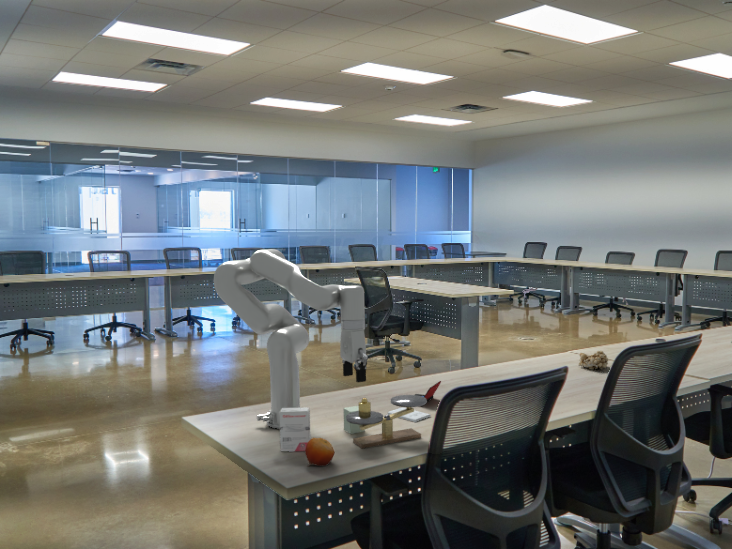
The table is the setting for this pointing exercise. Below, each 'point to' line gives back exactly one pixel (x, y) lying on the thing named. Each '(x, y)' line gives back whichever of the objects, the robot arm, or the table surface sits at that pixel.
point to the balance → (385, 421)
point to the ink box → (294, 428)
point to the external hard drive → (411, 415)
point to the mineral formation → (594, 360)
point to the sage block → (349, 426)
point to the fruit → (319, 452)
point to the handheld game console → (430, 391)
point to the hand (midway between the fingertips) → (354, 378)
